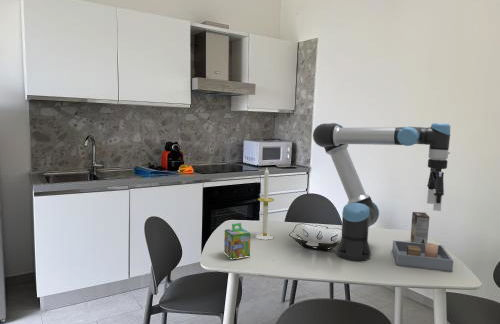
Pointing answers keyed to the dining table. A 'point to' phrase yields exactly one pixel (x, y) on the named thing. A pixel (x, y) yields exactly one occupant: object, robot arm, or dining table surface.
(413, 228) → the coffee box
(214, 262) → the dining table surface
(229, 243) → the chalk box
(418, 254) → the walnut cube
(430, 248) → the terracotta cylinder
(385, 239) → the dining table surface
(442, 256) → the tray
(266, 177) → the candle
